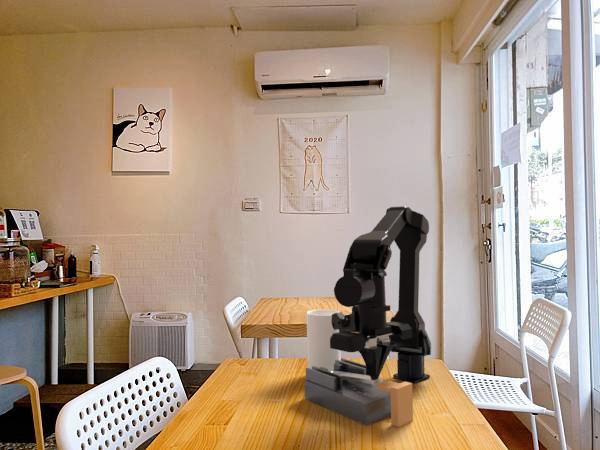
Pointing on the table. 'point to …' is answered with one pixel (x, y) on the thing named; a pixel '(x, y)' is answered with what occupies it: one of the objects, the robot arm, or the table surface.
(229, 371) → the table surface
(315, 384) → the slotted grey stand
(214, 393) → the table surface
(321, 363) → the cup
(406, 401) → the tan piece
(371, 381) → the strap
